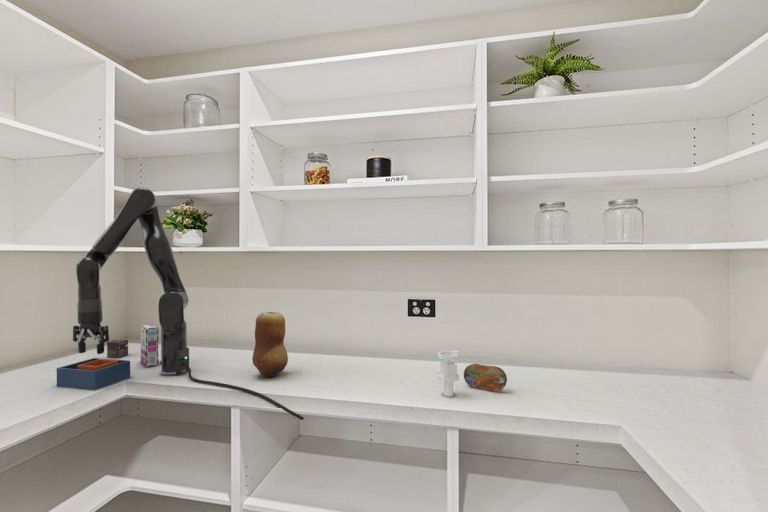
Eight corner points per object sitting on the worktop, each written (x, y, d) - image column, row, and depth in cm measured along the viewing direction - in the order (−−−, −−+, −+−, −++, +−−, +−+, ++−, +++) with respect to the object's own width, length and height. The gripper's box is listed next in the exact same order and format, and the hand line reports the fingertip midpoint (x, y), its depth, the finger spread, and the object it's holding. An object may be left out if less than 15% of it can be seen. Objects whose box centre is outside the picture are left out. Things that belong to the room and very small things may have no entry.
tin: (463, 386, 144) (463, 362, 144) (466, 383, 147) (466, 360, 147) (505, 394, 136) (505, 369, 136) (508, 391, 139) (508, 367, 139)
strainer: (456, 399, 131) (456, 353, 131) (435, 396, 134) (435, 351, 134) (461, 392, 138) (460, 349, 137) (441, 390, 140) (440, 347, 140)
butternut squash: (294, 375, 158) (294, 311, 158) (263, 383, 148) (262, 315, 148) (275, 368, 167) (275, 308, 167) (245, 375, 158) (244, 312, 158)
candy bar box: (159, 365, 173) (158, 327, 173) (146, 367, 170) (145, 328, 169) (153, 360, 181) (152, 323, 181) (140, 362, 178) (140, 325, 178)
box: (117, 358, 185) (117, 342, 185) (106, 357, 186) (106, 341, 186) (128, 355, 191) (128, 339, 191) (117, 354, 192) (117, 339, 192)
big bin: (130, 377, 156) (130, 360, 156) (95, 390, 142) (94, 371, 142) (94, 374, 161) (94, 357, 160) (56, 386, 146) (56, 368, 146)
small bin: (118, 377, 155) (118, 360, 155) (96, 384, 146) (96, 366, 146) (100, 375, 157) (100, 358, 157) (77, 382, 148) (77, 365, 148)
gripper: (114, 309, 153) (115, 351, 153) (84, 308, 157) (85, 350, 157) (95, 312, 146) (97, 356, 146) (65, 311, 149) (66, 355, 149)
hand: (91, 353), depth 151 cm, fingers open, 8 cm apart
